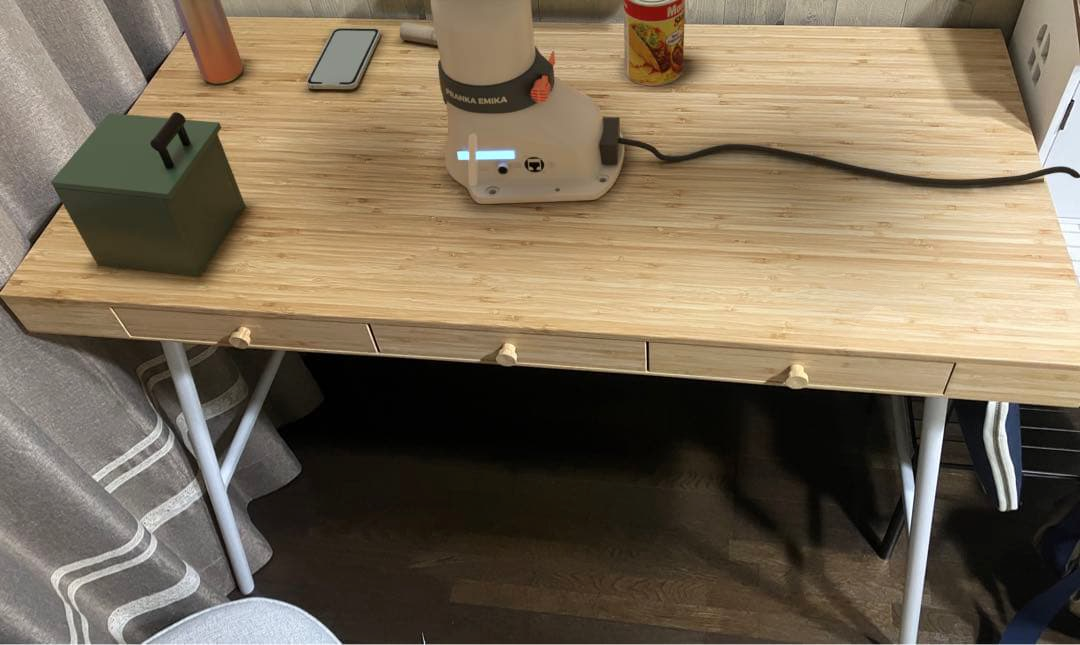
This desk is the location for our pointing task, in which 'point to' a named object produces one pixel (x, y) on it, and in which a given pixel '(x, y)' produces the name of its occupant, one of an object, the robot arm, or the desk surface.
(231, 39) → the beverage can
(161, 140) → the lid
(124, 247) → the dark green box
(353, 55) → the smartphone
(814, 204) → the desk surface
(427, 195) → the desk surface
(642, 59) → the canned food
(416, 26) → the rod
